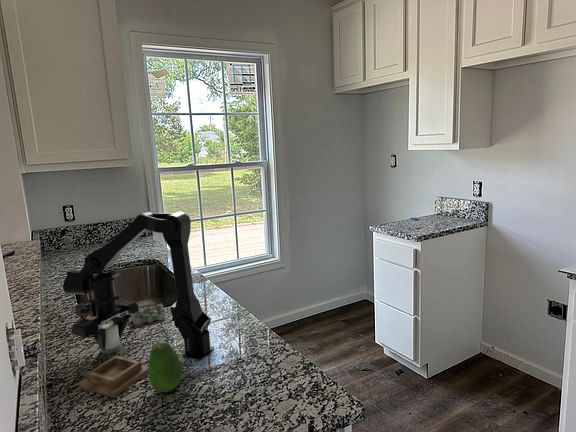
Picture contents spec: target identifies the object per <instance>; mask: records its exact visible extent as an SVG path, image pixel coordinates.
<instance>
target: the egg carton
mask: <svg viewBox="0 0 576 432" xmlns="http://www.w3.org/2000/svg"><path fill="white" fill-rule="evenodd" d="M130 315H131V320H132V322H133V326H141V325H142V324H144V323H148V324H149V323H153V322H154V321H162V320H163V319H166V311H165V307H164V306H163V304H162V302H161V303H158V304H156V305H152V306H151V305H149V306H147V307H146V306H145V307H143V308H140V307H139V311H138V312H136V313H134V314H130Z"/></svg>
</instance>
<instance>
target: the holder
mask: <svg viewBox="0 0 576 432" xmlns="http://www.w3.org/2000/svg"><path fill="white" fill-rule="evenodd" d="M148 366H149V365H145V364H142V361H139V360H135V359H132V358H128V357H124V356H120V355H114V356H113V357H110V358H109V359H107V360H105V361H104V362H102V363H101V364H99V365H98V366H96V367H94V368H93V369H90V370H89V371H88V372H86V377H85V378H83V379H81V380H80V381H79V382H77V386H78V387H80V388H83V389H86V390H89V391H91V392H95V393H98V394H101V395H104V396H107V397H110V398H116V396H118V395H120V394H121V393H122V392H123V391H125V390H126V389H127V388H129V387H130V386H132V385H133V384H134V383H137V382H138V381H139V380H140V379H142V378H143V377H144V376H146V375H147V374H148Z"/></svg>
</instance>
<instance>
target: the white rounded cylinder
mask: <svg viewBox="0 0 576 432" xmlns="http://www.w3.org/2000/svg"><path fill="white" fill-rule="evenodd" d="M102 328H103V329H106V341H105V349H104V350H101V349H100V350H101V354H102V355H104V356H105V355H106V356H107V355H113V354H116V353H118V352H120V351H121V349H122V346H121V339H119V331H118V325H117V324H114V323H107V324H104V325H102Z"/></svg>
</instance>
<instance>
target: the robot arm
mask: <svg viewBox="0 0 576 432" xmlns="http://www.w3.org/2000/svg"><path fill="white" fill-rule="evenodd" d="M191 224H192V223H191V218H190V216H189V214H186V212H183V211H176V212H173V213H172V212H171V213H169V212H151V211H145V212H143V213H139V214H138V215H137V216H136V218H134V220H132V221H131V222H130V223H129V224H128V225H127V226H125V228H123V230H121V231H120V232H119V233H118V234H116V236H114V238H113V239H111V240H110V241H109V242H108V243H106V244H105V245H102V246H101V247H99V248H98V249H96V250H93V251H92V252H91V253H89V254H88V255H86V256H85V257H84V260H83V261H84V265H82V268H81V270H77V269H69V270H67V271H66V276H65V278H64V280H63V285H62V290H63V291H64V293H65V294H67V295H89V294H90V293H92V298H90V300H89V303H86V304H85V303H84V302H82V303H78V304H76V305H74V312H75V315H76V317H81V316H82V318H83V319H81V320H80V321H77V322H75V323H73V324H72V325H71V327H70V328H71V329H70V330H71V334H72V335H73V336H77V337H81V338H89V337H91V336H92V337H93V338H94V340H95V343H97V345H98V347H99V349H100V350H104V349H105V341H106V329H103V328H102V326H103V325H102V324H104V323H105V322H107V321H109V320H110V321H112V324H117V325H118V331H119V339H120V340H121V339H122V337H123V334H124V331H125V329H126V326H127V325H128V323H129V321H130V319H132V315H131V314H134V313H136V312H138V311H139V308H140V306H139V304H138V302H137V301H133V300H127V299H124V300H123V301H120V302H118V303H117V301H118V300H120V295H118V294H116V288H115V287H116V286H115V280H116V279H118V278H120V277H121V276H122V275H121V273H120V272H118V271H116V270H115V269H110V270H109V271H108V272H107V271H106V270H107V269H109V268H111V267H113V266H114V265H115V264H116V262H117V260H118V259H119V258H120V256H121V254H122V252H123V251H124V250H125V249H126V248H128V247H129V246H130V245H131V244H132V243H133V242H134V241H135V240H136V239H138V238H139V237H140V236H141V235H142V234H143V233H145V232H146V231H147V230H148V231H152V232H154V233H159V234H162V236H163V240H164V242H165V243H166V244H167V246H168V247H169V250H170V256H171V257H170V258H171V263H172V271H173V278H174V279H173V280H174V284H175V285H174V286H175V293H176V301H175V302H174V303H173V304H172V305H171V306H170V313H171V322H173V325H174V327H175V328H176V329H178V331H179V333H180V335H181V337H182V339H183V342H184V343H183V344H184V352H182V356H183V357H188V358H191V359H196V360H199V361H200V360H203V359H204V358H205V357H206V356H207V355H208V354H210V353H211V352H212V351H214V350H215V347H214V346H211V339H210V336H211V335H210V330H208V329H207V328H208V327H209V326H210V324H211V321H212V318H211V317H210V316H208V314H206V313H205V312H204V311H203V310H202V306H201V303H200V300H199V298H198V297H197V295H196V294H195V290H194V283H193V282H194V281H193V277H192V276H193V275H192V267H191V261H190V252H189V240H190V236H191V228H192V227H191V226H192V225H191ZM104 271H105V272H104ZM128 313H129V314H128ZM86 316H89V317H91V318H95V319H91V320H90V319H87V318H86Z"/></svg>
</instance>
